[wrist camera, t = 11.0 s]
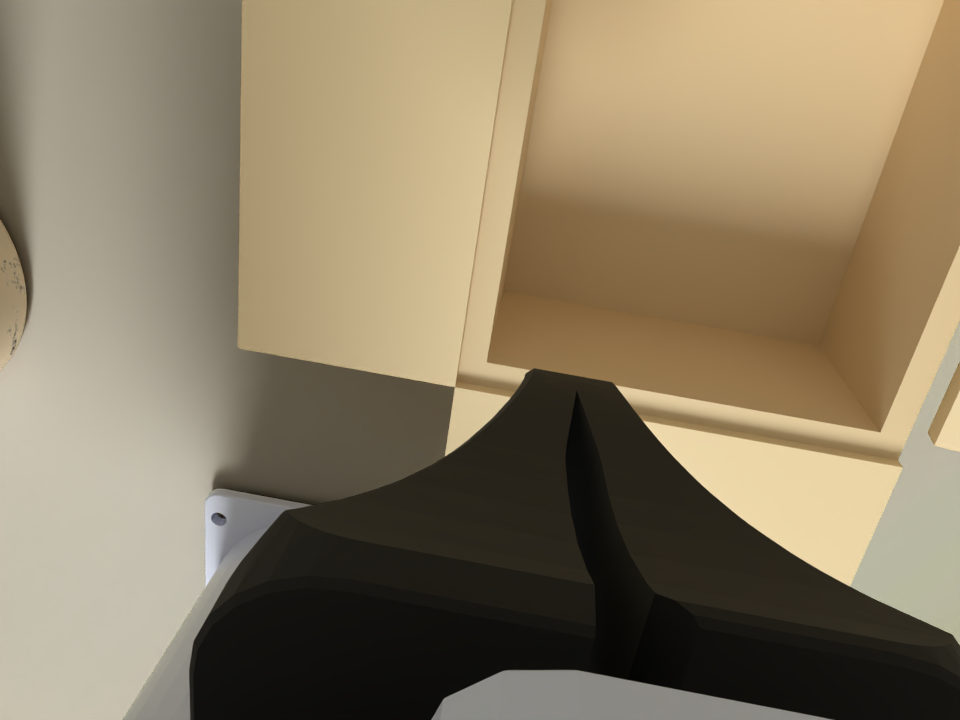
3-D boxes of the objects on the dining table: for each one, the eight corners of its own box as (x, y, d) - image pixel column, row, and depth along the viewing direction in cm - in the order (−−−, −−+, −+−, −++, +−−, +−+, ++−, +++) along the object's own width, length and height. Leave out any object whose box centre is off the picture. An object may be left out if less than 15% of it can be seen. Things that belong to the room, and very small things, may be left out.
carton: (774, 506, 24) (861, 721, 17) (303, 420, 25) (191, 593, 18) (1126, -434, 15) (1651, -846, 8) (355, -540, 15) (163, -1018, 8)
